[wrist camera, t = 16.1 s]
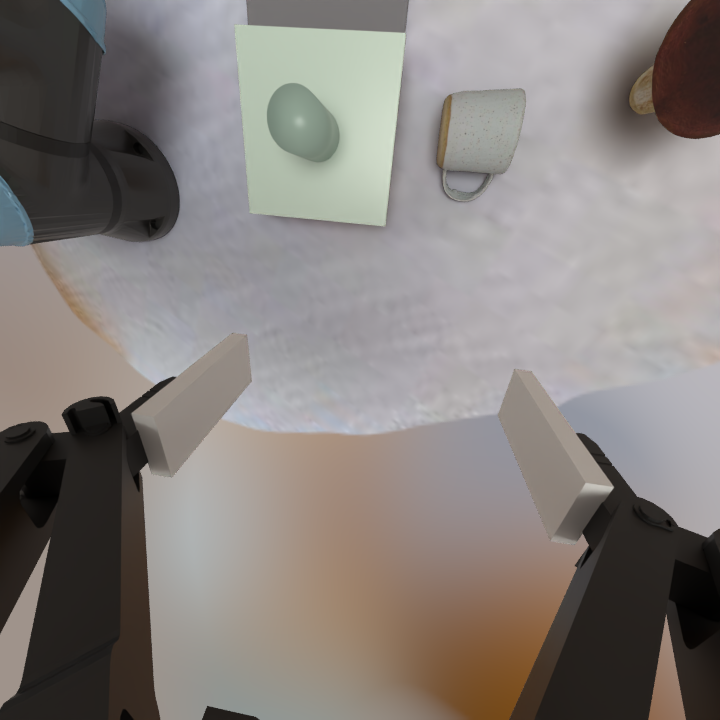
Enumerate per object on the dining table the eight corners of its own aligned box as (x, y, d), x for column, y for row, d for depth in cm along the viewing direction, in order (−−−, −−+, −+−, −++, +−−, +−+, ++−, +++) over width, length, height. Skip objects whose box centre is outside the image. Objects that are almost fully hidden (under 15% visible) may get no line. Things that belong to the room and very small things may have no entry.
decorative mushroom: (605, 173, 38) (709, 161, 25) (573, 80, 35) (674, 11, 22) (714, 105, 34) (905, 49, 21) (689, -7, 31) (900, -156, 18)
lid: (253, 212, 40) (215, 217, 32) (240, 30, 32) (184, -26, 24) (385, 225, 39) (380, 233, 31) (405, 38, 31) (405, -18, 23)
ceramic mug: (440, 100, 37) (447, 81, 31) (512, 99, 36) (536, 79, 30) (430, 200, 42) (434, 202, 36) (492, 201, 41) (509, 203, 35)
